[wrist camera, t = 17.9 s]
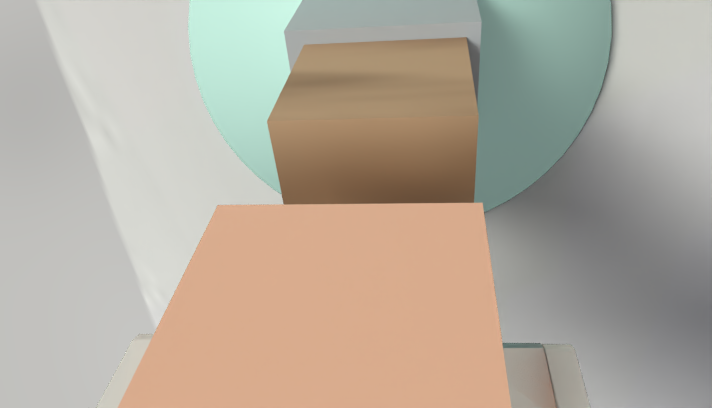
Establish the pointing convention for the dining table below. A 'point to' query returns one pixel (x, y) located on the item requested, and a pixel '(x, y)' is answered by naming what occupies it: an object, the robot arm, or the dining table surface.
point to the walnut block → (377, 124)
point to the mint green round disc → (410, 22)
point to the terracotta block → (331, 312)
